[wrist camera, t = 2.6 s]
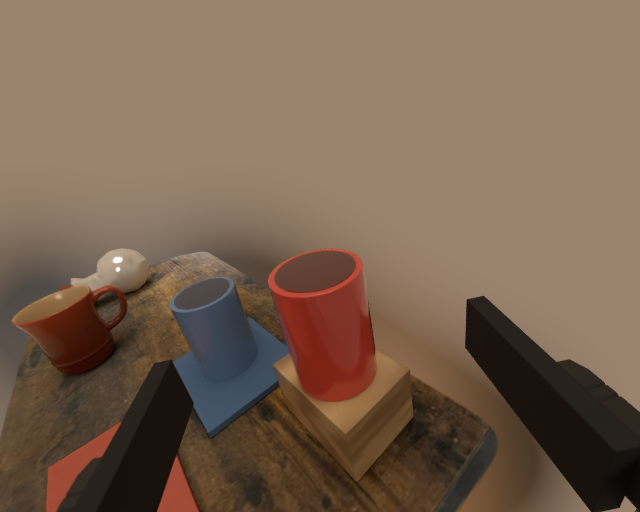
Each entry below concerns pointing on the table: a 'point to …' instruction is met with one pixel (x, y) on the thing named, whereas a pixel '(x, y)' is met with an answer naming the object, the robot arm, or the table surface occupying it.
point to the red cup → (326, 322)
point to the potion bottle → (117, 271)
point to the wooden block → (353, 414)
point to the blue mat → (232, 383)
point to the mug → (72, 327)
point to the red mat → (177, 498)
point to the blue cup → (215, 327)
